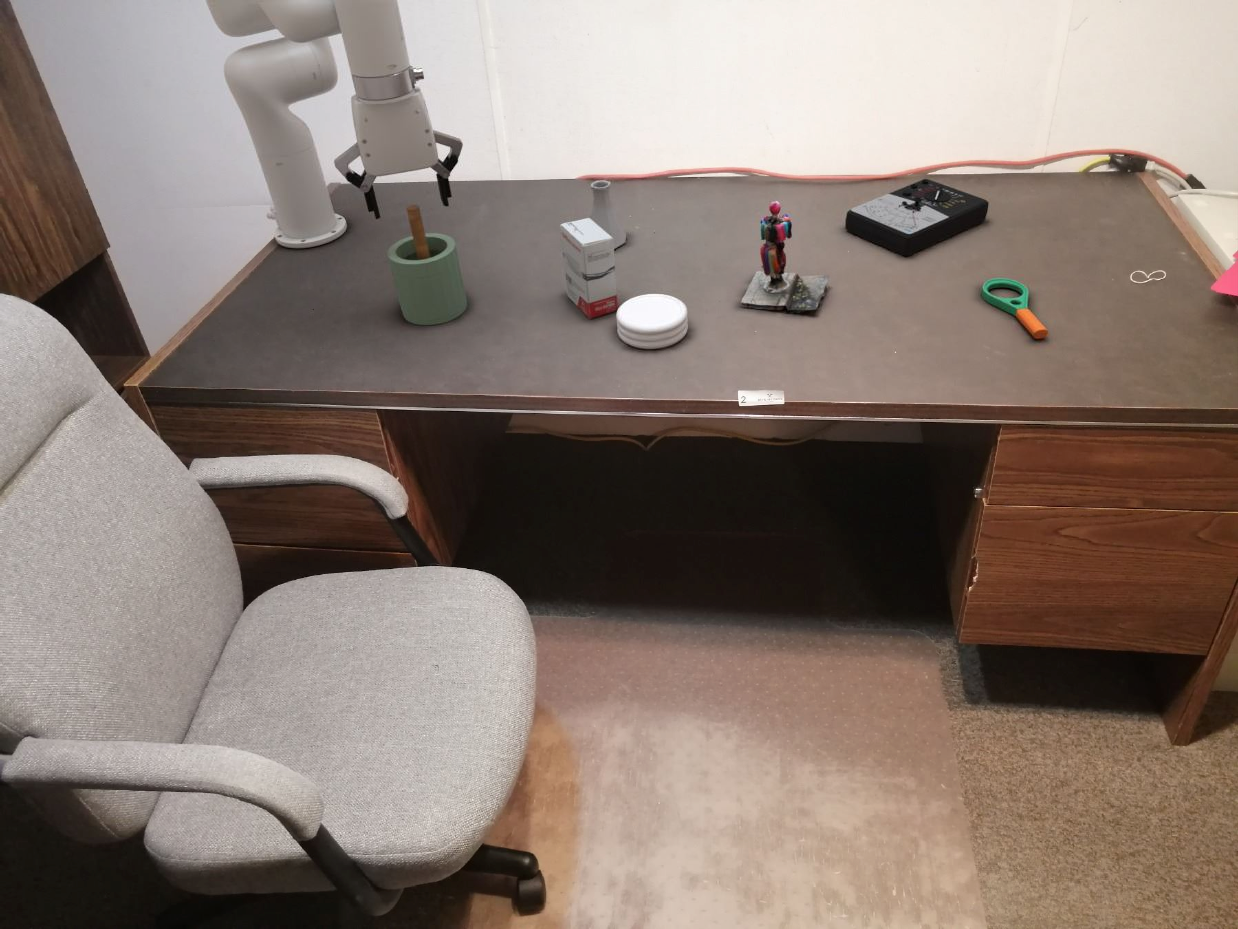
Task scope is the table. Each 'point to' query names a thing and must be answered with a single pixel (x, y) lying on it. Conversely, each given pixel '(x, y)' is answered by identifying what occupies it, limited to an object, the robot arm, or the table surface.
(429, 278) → the jar
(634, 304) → the white round disc stack
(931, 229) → the multimeter
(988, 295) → the magnifying glass
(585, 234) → the ink box
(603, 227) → the flask
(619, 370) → the table surface
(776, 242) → the statue
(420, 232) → the wooden stamp
